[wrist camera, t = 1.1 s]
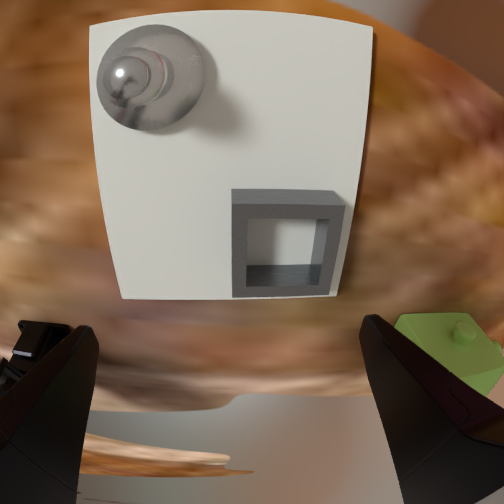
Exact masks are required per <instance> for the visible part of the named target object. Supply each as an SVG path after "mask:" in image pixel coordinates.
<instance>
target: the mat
mask: <svg viewBox="0 0 504 504" xmlns="http://www.w3.org/2000/svg"><path fill="white" fill-rule="evenodd" d="M152 24H160V25H167V26H171V27H174V28H177V29H179V30H181V31H183V32H184V33H185V34H187V35H188V36H189V37H190V38H191V39H192V40H193V41H194V42H195V43H196V44H197V45H198V47H199V48H200V50H201V52H202V54H203V57H204V59H205V64H206V82H205V86H204V89H203V92H202V95H201V97H200V98H199V100H198V102H197V103H196V105H195V106H194V107H193V108H192V110H191V111H190V112H189V113H187V114H186V115H185V116H184V117H183V118H181V119H180V120H179V121H177V122H175V123H174V124H172V125H170V126H167V127H165V128H161V129H158V130H151V131H141V130H134V129H130V128H128V127H125V126H123V125H121V124H119V123H118V122H116V121H115V120H114V119H112V118H111V117H110V116H109V115H108V114H107V112H106V111H105V110H104V108H103V106H102V104H101V102H100V100H99V97H98V93H97V86H96V79H97V72H98V68H99V64H100V62H101V60H102V57H103V56H104V54H105V52H106V51H107V49H108V48H109V47H110V45H111V44H112V43H113V42H114V41H115V40H116V39H118V38H119V37H120V36H121V35H123V34H125V33H126V32H128V31H130V30H132V29H134V28H137V27H140V26H145V25H152ZM372 38H373V27H371V26H366V25H362V24H357V23H352V22H347V21H342V20H336V19H331V18H324V17H318V16H310V15H302V14H293V13H283V12H270V11H251V10H206V11H187V12H174V13H163V14H155V15H147V16H140V17H133V18H127V19H121V20H116V21H110V22H106V23H101V24H96V25H92V26H90V36H89V77H90V102H91V117H92V130H93V141H94V150H95V159H96V167H97V175H98V182H99V189H100V195H101V201H102V207H103V213H104V219H105V224H106V229H107V235H108V240H109V244H110V249H111V254H112V258H113V263H114V267H115V271H116V275H117V280H118V284H119V288H120V291H121V295H122V299H160V300H221V299H272V298H302V297H326V296H336V295H337V291H338V286H339V282H340V277H341V273H342V268H343V264H344V259H345V254H346V249H347V244H348V239H349V234H350V228H351V223H352V217H353V212H354V206H355V200H356V194H357V187H358V181H359V174H360V167H361V160H362V153H363V145H364V137H365V128H366V119H367V110H368V99H369V88H370V74H371V59H372ZM231 189H304V190H332V191H334V192H335V193H336V194H337V196H338V197H339V198H340V199H341V200H342V202H343V203H344V204H345V205H346V207H345V213H344V219H343V225H342V230H341V236H340V242H339V247H338V252H337V258H336V263H335V268H334V273H333V278H332V283H331V287H330V292H329V295H314V296H287V297H249V298H232V277H231ZM316 220H317V219H248V225H247V265H295V264H310V263H311V256H312V249H313V242H314V235H315V228H316Z"/></svg>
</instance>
